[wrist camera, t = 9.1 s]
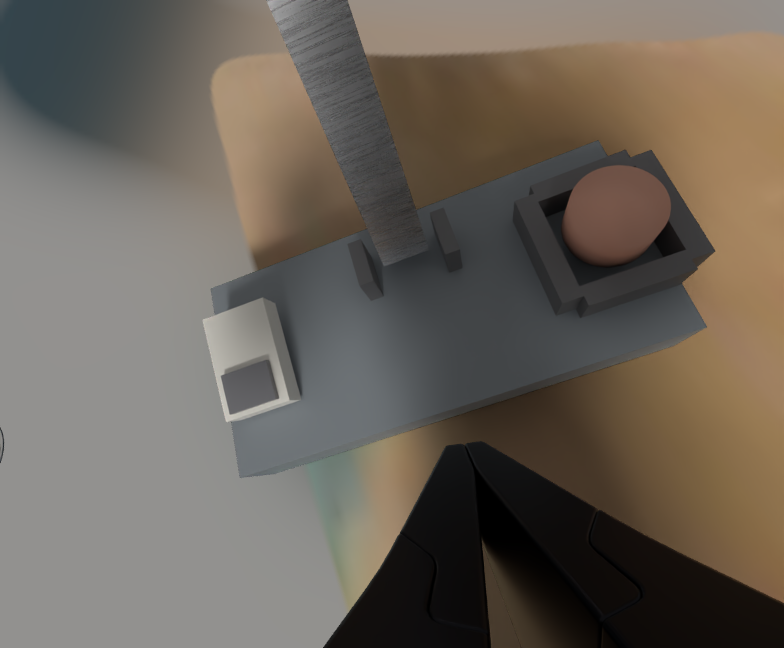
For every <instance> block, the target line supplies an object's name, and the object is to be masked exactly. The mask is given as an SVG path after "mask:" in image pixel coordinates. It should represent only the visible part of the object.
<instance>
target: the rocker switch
mask: <svg viewBox="0 0 784 648" xmlns="http://www.w3.org/2000/svg"><path fill="white" fill-rule="evenodd" d="M203 325H204V329H205V333H206V337H207V342H208V346H209V351H210V355H211V359H212V364H213V368H214V372H215V376H216V381H217V385H218V390H219V394H220V398H221V403H222V407H223V411H224V415H225V420H226V422H232V421H239V420H244V419H246V418H249V417H252V416H255V415H258V414H261V413H264V412H267V411H270V410H273V409H276V408H279V407H282V406H285V405H288V404H291V403H294V402H296V401H299V400H301V397H300V393H299V389H298V386H297V382H296V378H295V374H294V371H293V367H292V363H291V360H290V356H289V352H288V349H287V345H286V341H285V337H284V334H283V330H282V326H281V323H280V319H279V315H278V312H277V308H276V304H275V303H274V302H271V301H269V300H267V299H265V298H263V297H262V298H260V299H257V300H254V301H252V302H249V303H246V304H244V305H241V306H238V307H236V308H233V309H230V310H228V311H225V312H222V313H220V314H217V315H214V316H212V317H209V318H207V319H204V320H203Z"/></svg>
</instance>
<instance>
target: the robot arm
mask: <svg viewBox="0 0 784 648" xmlns="http://www.w3.org/2000/svg"><path fill="white" fill-rule="evenodd" d="M482 543H483V546H484V549H485V552H486V554H487V557H488V560H489V562H490V565H491V568H492V570H493V573H494V576H495V578H496V581H497V584H498V586H499V589H500V592H501V594H502V597H503V600H504V602H505V605H506V608H507V610H508V613H509V616H510V618H511V621H512V624H513V626H514V629H515V632H516V634H517V637H518V640H519V642H520V645H521V648H784V603H782V602H780V601H778V600H776V599H774V598H772V597H770V596H768V595H766V594H764V593H762V592H760V591H758V590H755V589H753V588H751V587H749V586H747V585H745V584H743V583H741V582H739V581H737V580H735V579H733V578H731V577H729V576H727V575H725V574H722V573H720V572H718V571H716V570H714V569H712V568H710V567H708V566H706V565H704V564H702V563H700V562H698V561H696V560H694V559H691V558H689V557H687V556H685V555H683V554H681V553H679V552H677V551H675V550H673V549H671V548H669V547H667V546H665V545H663V544H661V543H659V542H657V541H655V540H654V539H652V538H650V537H648V536H646V535H644V534H642V533H640V532H638V531H637V530H635V529H633V528H631V527H629V526H628V525H626V524H624V523H622V522H620V521H619V520H617V519H615V518H613V517H612V516H610V515H608V514H607V513H605V512H603V511H601V510H599V511H598V509H597V508H595V507H593V506H592V505H590V504H588V503H587V502H585V501H583V500H581V499H580V498H578V497H576V496H575V495H573V494H571V493H570V492H568V491H566V490H564V489H563V488H561V487H559V486H558V485H556V484H554V483H553V482H551V481H549V480H547V479H546V478H544V477H542V476H541V475H539V474H537V473H536V472H534V471H532V470H530V469H529V468H527V467H525V466H524V465H522V464H520V463H519V462H517V461H515V460H513V459H512V458H510V457H508V456H507V455H505V454H503V453H502V452H500V451H498V450H496V449H495V448H493V447H491V446H490V445H488V444H486V443H485V442H482V441H480V442H472V443H467V444H465V446H464V445H463V444H456V445H448V446H446V447H445V448H444V450H443V452H442V454H441V456H440V458H439V460H438V462H437V464H436V465H435V467H434V469H433V471H432V473H431V475H430V477H429V479H428V481H427V483H426V484H425V486H424V488H423V490H422V492H421V494H420V496H419V498H418V500H417V502H416V504H415V505H414V507H413V509H412V511H411V513H410V515H409V517H408V519H407V521H406V523H405V524H404V526H403V528H402V530H401V532H400V534H399V535H398V537H397V538H396V540H395V542H394V544H393V546H392V548H391V550H390V552H389V553H388V555H387V557H386V558H385V560H384V562H383V564H382V565H381V567H380V569H379V570H378V572H377V573H376V574H375V576H374V577H373V579H372V580H371V582H370V583H369V585H368V586H367V588H366V589H365V591H364V592H363V593H362V595H361V596H360V598H359V599H358V600H357V602H356V603H355V604H354V606H353V607H352V609H351V610H350V611H349V613H348V614H347V615H346V617H345V618H344V620H343V621H342V622H341V624H340V625H339V627H338V628H337V629H336V631H335V632H334V633H333V635H332V636H331V637H330V639H329V640H328V642H327V643H326V644H325V646H324V647H323V648H491V639H490V628H489V617H488V606H487V595H486V583H485V572H484V561H483V550H482Z"/></svg>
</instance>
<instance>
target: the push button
mask: <svg viewBox="0 0 784 648" xmlns="http://www.w3.org/2000/svg"><path fill="white" fill-rule="evenodd" d="M670 212H671V202H670V197H669V194H668V192H667V190H666V188H665V187H664V185H663V184H662V183H661V182H660V181H659V180H658V179H657V178H656V177H655V176H653V175H652V174H650V173H648V172H646V171H644V170H642V169H639V168H636V167H632V166H625V165H614V166H607V167H603V168H600V169H597V170H595V171H592V172H591V173H589V174H587V175H586V176H584V177H583V178H582V179H581V180H580V181H579V182H578V183H577V184H576V186H575V187H574V189H573V190H572V193H571V195H570V198H569V201H568V204H567V207H566V210H565V213H564V216H563V220H562V224H561V234H562V238H563V241H564V243H565V245H566V247H567V248H568V249H569V251H570V252H571V253H572V254H573V255H574V256H575V257H577V258H578V259H580V260H581V261H583V262H585V263H588V264H590V265H594V266H598V267H618V266H622V265H626V264H628V263H630V262H632V261H634V260H636V259H637V258H639V257H640V256H641V255H642V254H643V253H644V252H645V251H646V250H647V249H648V247H649V246H650V245H651V243H652V242H653V241H654V240H655V238H656V237H657V236H658V235H659V233H660V232H661V231H662V230H663V228H664V227H665V225H666V224H667V222H668V219H669V217H670Z"/></svg>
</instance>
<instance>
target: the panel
mask: <svg viewBox="0 0 784 648" xmlns="http://www.w3.org/2000/svg"><path fill="white" fill-rule="evenodd" d="M614 165H625V166H632V167H636V168H639V169H642V170H644V171H646V172H648V173H650V174H652V175H653V176H655V177H656V178H657V179H658V180H659V181H660V182H661V183H662V184H663V185H664V187H665V188H666V190H667V192H668V194H669V197H670V202H671V212H670V217H669V219H668V222H667V224H666V225H665V227H664V228H663V230H662V231H661V232H660V233H659V235H658V236H657V237H656V238H655V240H654V241H653V242H652V243H651V245H650V246H649V247H648V249H647V250H646V251H645V252H644V253H643V254H642V255H641V256H640V257H639V258H637V259H636V260H634V261H632V262H630V263H628V264H626V265H622V266H618V267H598V266H594V265H590V264H588V263H585V262H583V261H581V260H580V259H578V258H577V257H575V256H574V255H573V254H572V253H571V252H570V251H569V249H568V248H567V247H566V245H565V243H564V241H563V238H562V234H561V224H562V220H563V216H564V213H565V210H566V207H567V204H568V201H569V198H570V195H571V193H572V190H573V189H574V187H575V186H576V184H577V183H578V182H579V181H580V180H581V179H582V178H583V177H584V176H586V175H587V174H589V173H591V172H592V171H595V170H597V169H600V168H603V167H607V166H614ZM416 212H417V215H418V218H419V221H420V224H421V227H422V230H423V233H424V236H425V239H426V242H427V245H428V248H429V250H427V251H424V252H422V253H419V254H416V255H413V256H411V257H408V258H405V259H403V260H400V261H397V262H395V263H392V264H389V265H386V266H384V265H383V263H382V261H381V258H380V256H379V254H378V252H377V249H376V247H375V245H374V243H373V240H372V238H371V236H370V233H369V231H368V229H365V230H363V231H360V232H357V233H355V234H352V235H350V236H347V237H344V238H342V239H339V240H337V241H334V242H331V243H329V244H326V245H323V246H321V247H318V248H316V249H313V250H310V251H308V252H305V253H303V254H300V255H297V256H295V257H292V258H290V259H287V260H284V261H282V262H279V263H276V264H274V265H271V266H269V267H266V268H263V269H261V270H258V271H256V272H253V273H250V274H248V275H245V276H243V277H240V278H237V279H235V280H232V281H230V282H227V283H224V284H222V285H219V286H216V287H214V288H211V293H212V300H213V307H214V313H215V315H217V314H220V313H222V312H225V311H228V310H230V309H233V308H236V307H238V306H241V305H244V304H246V303H249V302H252V301H254V300H257V299H260V298H262V297H263V298H265V299H267V300H269V301H271V302H274V303H275V304H276V308H277V312H278V315H279V319H280V323H281V326H282V330H283V334H284V337H285V341H286V345H287V349H288V352H289V356H290V360H291V363H292V367H293V371H294V374H295V378H296V382H297V386H298V389H299V393H300V397H301V400H299V401H296V402H294V403H291V404H288V405H285V406H282V407H279V408H276V409H273V410H270V411H267V412H264V413H261V414H258V415H255V416H252V417H249V418H246V419H244V420H239V421H232V422H231V423H232V430H233V437H234V443H235V450H236V456H237V463H238V468H239V476H240V478H243V477H252V476H261V475H270V474H276V473H279V472H282V471H285V470H288V469H291V468H295V467H298V466H301V465H304V464H307V463H310V462H313V461H316V460H320V459H323V458H326V457H329V456H332V455H335V454H338V453H341V452H344V451H348V450H351V449H354V448H357V447H360V446H363V445H366V444H369V443H373V442H376V441H379V440H382V439H385V438H388V437H391V436H394V435H397V434H401V433H404V432H407V431H410V430H413V429H416V428H419V427H422V426H426V425H429V424H432V423H435V422H438V421H441V420H444V419H447V418H450V417H454V416H457V415H460V414H463V413H466V412H469V411H472V410H475V409H479V408H482V407H485V406H488V405H491V404H494V403H497V402H500V401H503V400H507V399H510V398H513V397H516V396H519V395H522V394H525V393H528V392H532V391H535V390H538V389H541V388H544V387H547V386H550V385H553V384H557V383H560V382H563V381H566V380H569V379H572V378H575V377H578V376H581V375H585V374H588V373H591V372H594V371H597V370H600V369H603V368H606V367H610V366H613V365H616V364H619V363H622V362H625V361H628V360H631V359H634V358H638V357H641V356H644V355H647V354H650V353H653V352H656V351H659V350H663V349H666V348H669V347H672V346H674V345H676V344H678V343H680V342H681V341H683V340H685V339H687V338H688V337H690V336H692V335H694V334H696V333H697V332H699V331H701V330H703V329H704V328H706V327H707V326H706V324H705V322H704V321H703V319H702V317H701V316H700V314H699V312H698V310H697V309H696V307H695V305H694V304H693V302H692V300H691V298H690V297H689V295H688V293H687V292H686V290H685V288H684V286H683V285H682V282H683V281H685V280H686V279H687V278H688V277H689V276H690V275H692V274H693V273H694V272H695V271H696V270H697V269H698V268H697V267H698V266H699V265H700V264H701V263H702V262H704V261H705V260H706V259H707V258H708V257H709V256H710V255H712V254H713V253H714V252H715V250H714V248H713V246H712V245H711V243H710V242H709V240H708V238H707V237H706V235H705V234H704V232H703V231H702V229H701V227H700V226H699V224H698V223H697V221H696V219H695V218H694V216H693V215H692V213H691V212H690V210H689V208H688V207H687V205H686V204H685V202H684V201H683V199H682V197H681V196H680V194H679V193H678V191H677V189H676V188H675V186H674V185H673V183H672V182H671V180H670V178H669V177H668V175H667V174H666V172H665V170H664V169H663V167H662V166H661V164H660V163H659V161H658V159H657V158H656V156H655V155H654V153H653V151H652V150H649V151H647V152H644V153H641V154H639V155H636V156H633V157H631V158H630V156H629V154H628V153H627V151H626V150H623V151H621V152H618V153H615V154H613V155H610V156H607V154H606V153H605V151H604V149H603V147H602V146H601V144H600V142H599V141H598V140H597V141H595V142H592V143H590V144H587V145H584V146H582V147H579V148H577V149H574V150H571V151H569V152H566V153H564V154H561V155H558V156H556V157H553V158H550V159H548V160H545V161H543V162H540V163H537V164H535V165H532V166H530V167H527V168H524V169H522V170H519V171H517V172H514V173H511V174H509V175H506V176H504V177H501V178H498V179H496V180H493V181H490V182H488V183H485V184H483V185H480V186H477V187H475V188H472V189H470V190H467V191H464V192H462V193H459V194H457V195H454V196H451V197H449V198H446V199H444V200H441V201H438V202H436V203H433V204H430V205H428V206H425V207H423V208H420V209H417V210H416Z"/></svg>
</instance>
